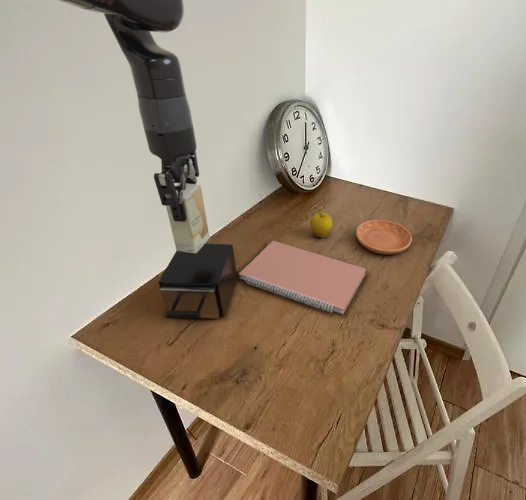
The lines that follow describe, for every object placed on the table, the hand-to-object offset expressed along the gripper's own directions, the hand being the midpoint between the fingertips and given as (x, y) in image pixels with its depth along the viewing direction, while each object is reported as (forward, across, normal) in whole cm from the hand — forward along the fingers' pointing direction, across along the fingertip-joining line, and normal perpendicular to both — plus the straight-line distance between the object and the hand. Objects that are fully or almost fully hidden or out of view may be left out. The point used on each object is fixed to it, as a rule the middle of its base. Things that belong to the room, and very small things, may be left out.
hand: (186, 210), depth 68 cm
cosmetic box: (+8, 0, 0) cm, 8 cm away
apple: (+22, -26, +26) cm, 43 cm away
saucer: (+22, -24, +44) cm, 55 cm away
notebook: (+22, -7, +22) cm, 32 cm away
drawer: (+21, +4, 0) cm, 22 cm away
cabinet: (+22, 0, 0) cm, 22 cm away
